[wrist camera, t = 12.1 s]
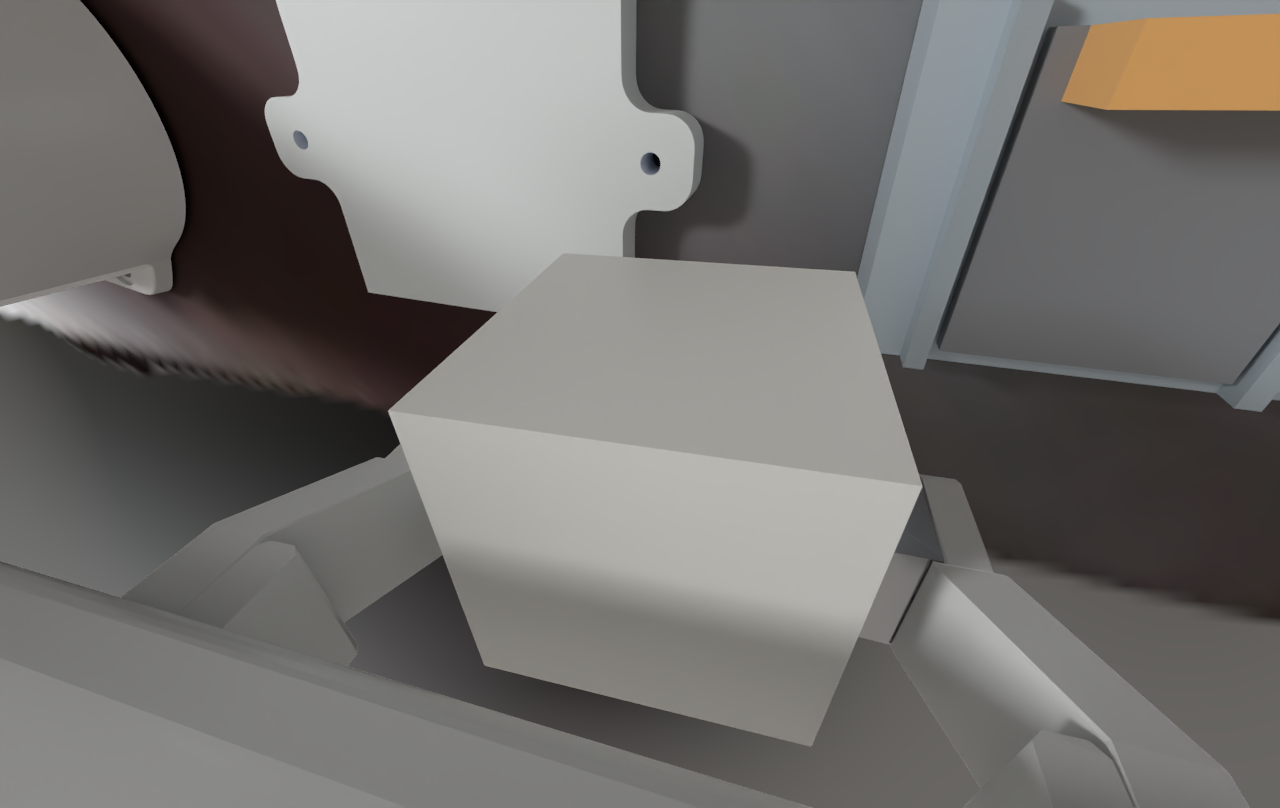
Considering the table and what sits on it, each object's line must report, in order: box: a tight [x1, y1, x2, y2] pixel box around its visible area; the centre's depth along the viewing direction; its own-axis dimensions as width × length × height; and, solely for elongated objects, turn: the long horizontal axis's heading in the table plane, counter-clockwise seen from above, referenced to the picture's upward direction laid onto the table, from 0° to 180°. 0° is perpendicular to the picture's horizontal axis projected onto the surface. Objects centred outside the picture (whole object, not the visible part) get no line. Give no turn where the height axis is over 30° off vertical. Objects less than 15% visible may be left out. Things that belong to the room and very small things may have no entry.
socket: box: [857, 0, 1280, 412], centre depth 12 cm, size 12×16×4 cm
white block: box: [388, 253, 922, 746], centre depth 9 cm, size 5×5×6 cm
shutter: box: [936, 14, 1280, 384], centre depth 11 cm, size 7×8×3 cm
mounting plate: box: [265, 0, 704, 312], centre depth 19 cm, size 18×13×2 cm
